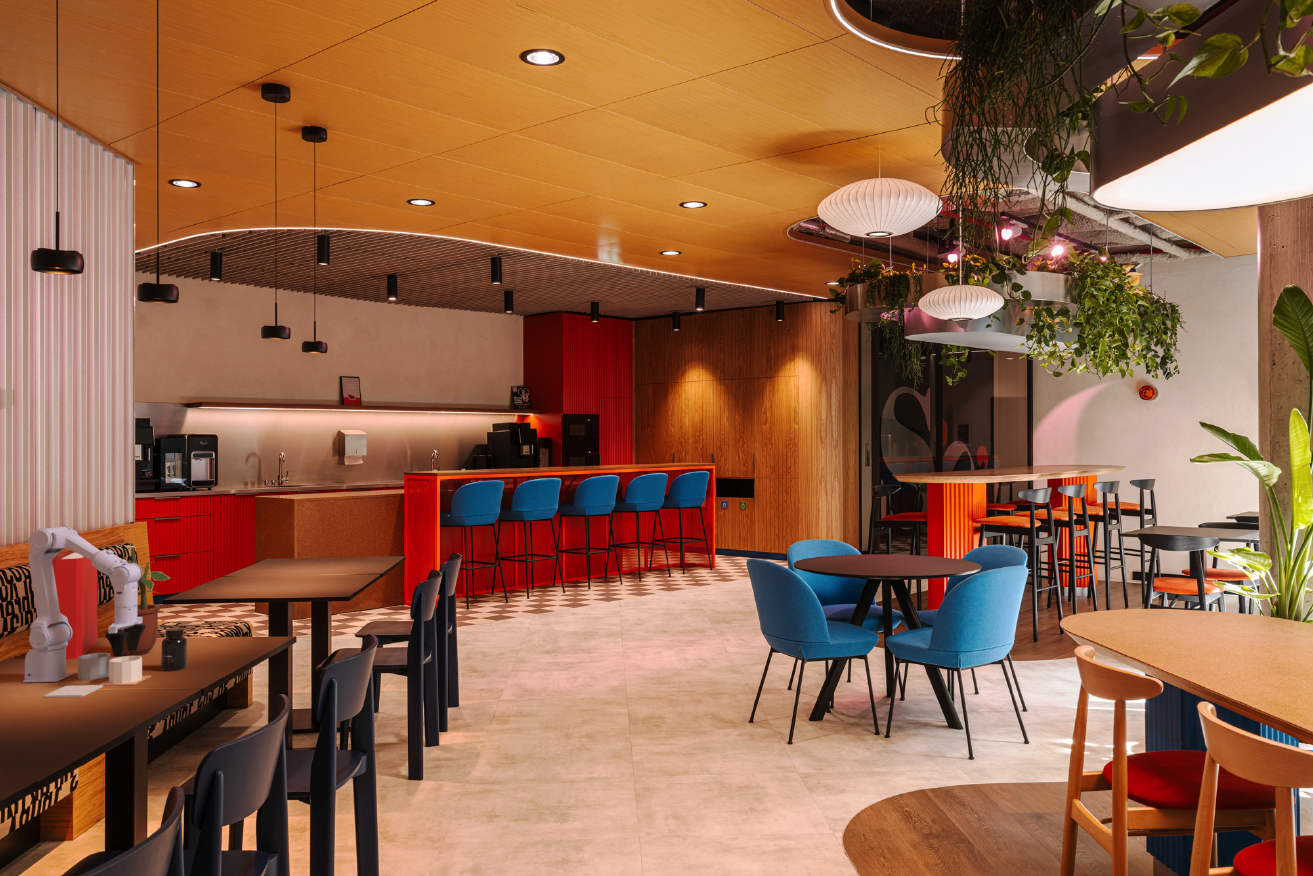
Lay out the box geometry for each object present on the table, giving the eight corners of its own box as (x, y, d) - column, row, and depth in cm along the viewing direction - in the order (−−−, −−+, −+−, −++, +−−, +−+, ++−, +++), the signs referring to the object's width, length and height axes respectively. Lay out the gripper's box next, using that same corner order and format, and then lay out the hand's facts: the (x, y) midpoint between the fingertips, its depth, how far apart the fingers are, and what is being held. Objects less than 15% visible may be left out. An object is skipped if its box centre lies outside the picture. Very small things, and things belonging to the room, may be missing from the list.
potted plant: (144, 658, 280) (145, 548, 281) (96, 658, 281) (97, 548, 281) (175, 646, 298) (175, 542, 298) (130, 646, 298) (130, 543, 299)
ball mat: (43, 697, 236) (43, 695, 236) (65, 687, 246) (65, 685, 246) (82, 696, 236) (82, 694, 236) (102, 686, 246) (103, 685, 246)
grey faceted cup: (71, 680, 253) (72, 659, 253) (87, 673, 261) (88, 653, 261) (100, 679, 254) (100, 659, 254) (115, 672, 262) (115, 652, 262)
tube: (99, 685, 247) (99, 663, 247) (117, 677, 257) (117, 655, 257) (133, 685, 248) (134, 662, 248) (151, 676, 257) (151, 655, 258)
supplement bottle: (160, 672, 262) (160, 632, 262) (161, 667, 268) (161, 628, 268) (186, 669, 265) (186, 630, 266) (187, 664, 271) (187, 626, 272)
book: (69, 643, 303) (70, 550, 303) (96, 641, 306) (97, 549, 306) (50, 660, 278) (51, 559, 278) (80, 658, 281) (81, 558, 281)
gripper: (126, 610, 246) (126, 659, 246) (153, 601, 260) (152, 647, 260) (100, 610, 245) (100, 659, 245) (128, 602, 260) (128, 648, 260)
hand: (125, 653), depth 253 cm, fingers open, 7 cm apart
